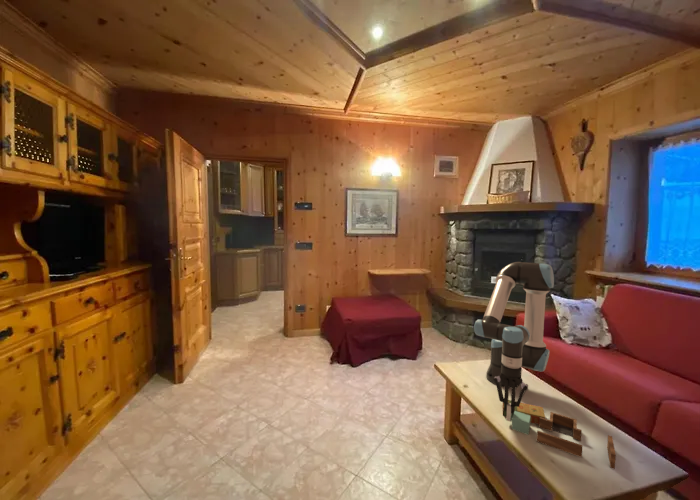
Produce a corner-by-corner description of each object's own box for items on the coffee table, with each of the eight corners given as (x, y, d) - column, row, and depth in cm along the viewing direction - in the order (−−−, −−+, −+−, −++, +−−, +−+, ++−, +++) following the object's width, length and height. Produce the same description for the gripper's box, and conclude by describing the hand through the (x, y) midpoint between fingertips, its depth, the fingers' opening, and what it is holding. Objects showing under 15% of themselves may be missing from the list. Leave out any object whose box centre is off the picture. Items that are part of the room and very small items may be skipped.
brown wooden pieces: (540, 417, 135) (541, 406, 134) (609, 439, 121) (610, 426, 121) (536, 441, 120) (537, 429, 119) (614, 469, 106) (615, 455, 106)
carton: (545, 427, 129) (545, 417, 129) (502, 416, 136) (502, 407, 136) (542, 416, 137) (543, 406, 136) (502, 406, 144) (502, 397, 143)
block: (513, 421, 132) (514, 410, 132) (530, 427, 129) (530, 415, 128) (511, 429, 127) (512, 417, 127) (528, 435, 124) (529, 423, 123)
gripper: (492, 364, 129) (490, 418, 131) (528, 372, 122) (525, 430, 124) (496, 358, 136) (493, 409, 137) (530, 366, 128) (527, 420, 130)
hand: (508, 419), depth 130 cm, fingers closed
